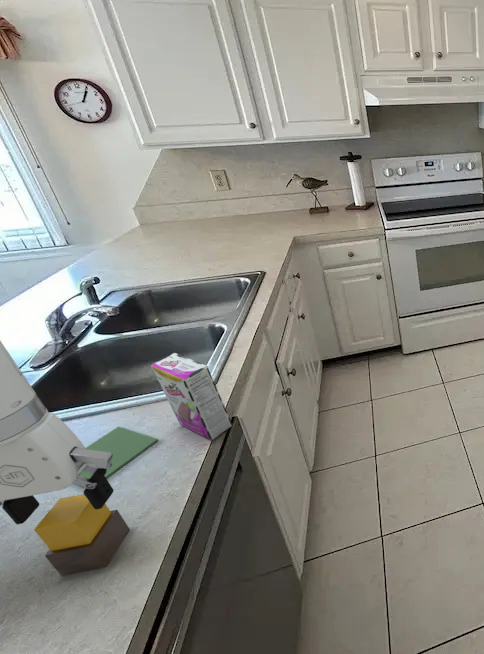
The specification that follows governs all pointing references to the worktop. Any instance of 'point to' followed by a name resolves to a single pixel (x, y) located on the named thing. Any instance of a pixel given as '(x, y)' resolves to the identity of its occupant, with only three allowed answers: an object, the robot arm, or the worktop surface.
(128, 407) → the worktop surface
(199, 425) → the candy bar box
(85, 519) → the mustard block
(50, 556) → the walnut block
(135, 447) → the green mat
